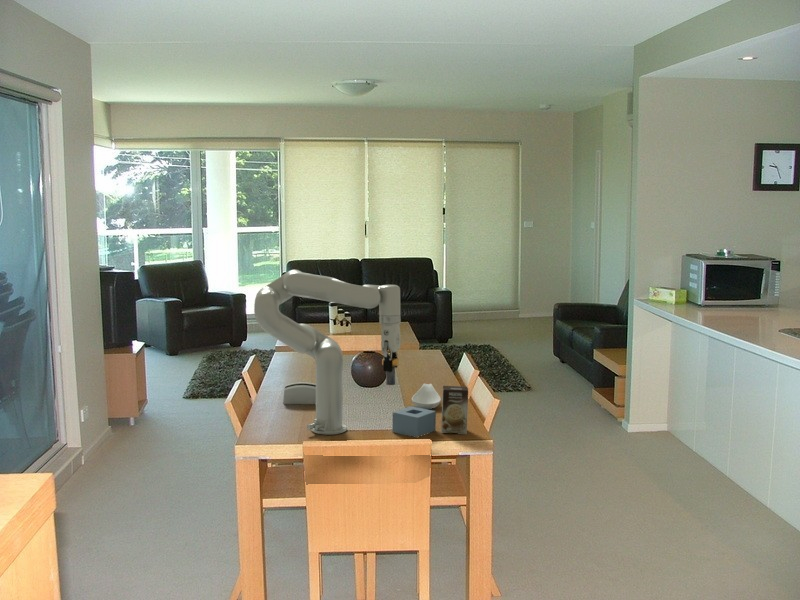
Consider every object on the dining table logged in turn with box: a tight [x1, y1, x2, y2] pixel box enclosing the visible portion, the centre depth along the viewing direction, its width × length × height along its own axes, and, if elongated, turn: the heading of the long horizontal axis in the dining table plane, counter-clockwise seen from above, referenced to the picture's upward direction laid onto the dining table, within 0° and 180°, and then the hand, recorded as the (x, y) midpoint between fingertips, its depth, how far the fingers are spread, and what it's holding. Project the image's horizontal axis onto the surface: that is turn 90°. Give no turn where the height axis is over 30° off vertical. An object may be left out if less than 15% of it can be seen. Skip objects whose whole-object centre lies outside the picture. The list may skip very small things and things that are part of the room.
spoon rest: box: [411, 383, 442, 410], centre depth 315 cm, size 24×12×7 cm, turn 177°
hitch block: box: [391, 405, 437, 438], centre depth 276 cm, size 11×11×7 cm
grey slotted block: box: [282, 381, 316, 405], centre depth 313 cm, size 17×5×10 cm, turn 90°
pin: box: [381, 357, 400, 386], centre depth 278 cm, size 6×6×9 cm
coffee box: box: [440, 385, 469, 435], centre depth 276 cm, size 9×6×16 cm
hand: (390, 368), depth 278 cm, fingers closed on pin, 6 cm apart
